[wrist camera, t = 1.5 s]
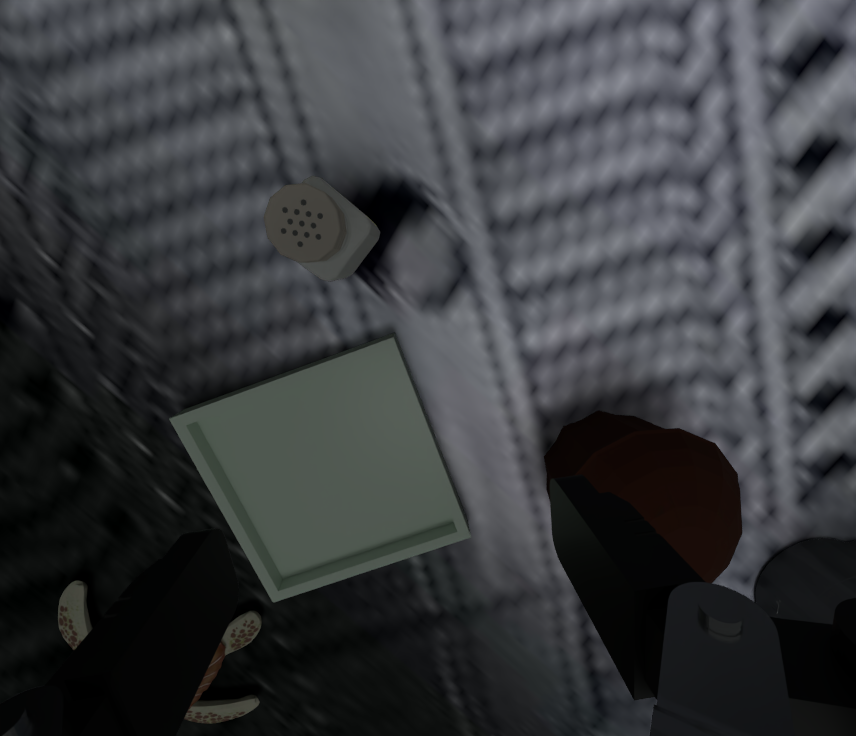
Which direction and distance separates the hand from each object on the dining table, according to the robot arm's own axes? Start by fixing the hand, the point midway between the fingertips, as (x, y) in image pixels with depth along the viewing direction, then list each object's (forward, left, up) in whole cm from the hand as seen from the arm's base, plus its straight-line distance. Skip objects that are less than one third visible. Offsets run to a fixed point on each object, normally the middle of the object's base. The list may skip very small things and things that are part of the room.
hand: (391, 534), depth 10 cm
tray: (+8, +6, -19) cm, 22 cm away
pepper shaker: (+1, -9, -19) cm, 21 cm away
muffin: (-11, +13, -19) cm, 26 cm away
